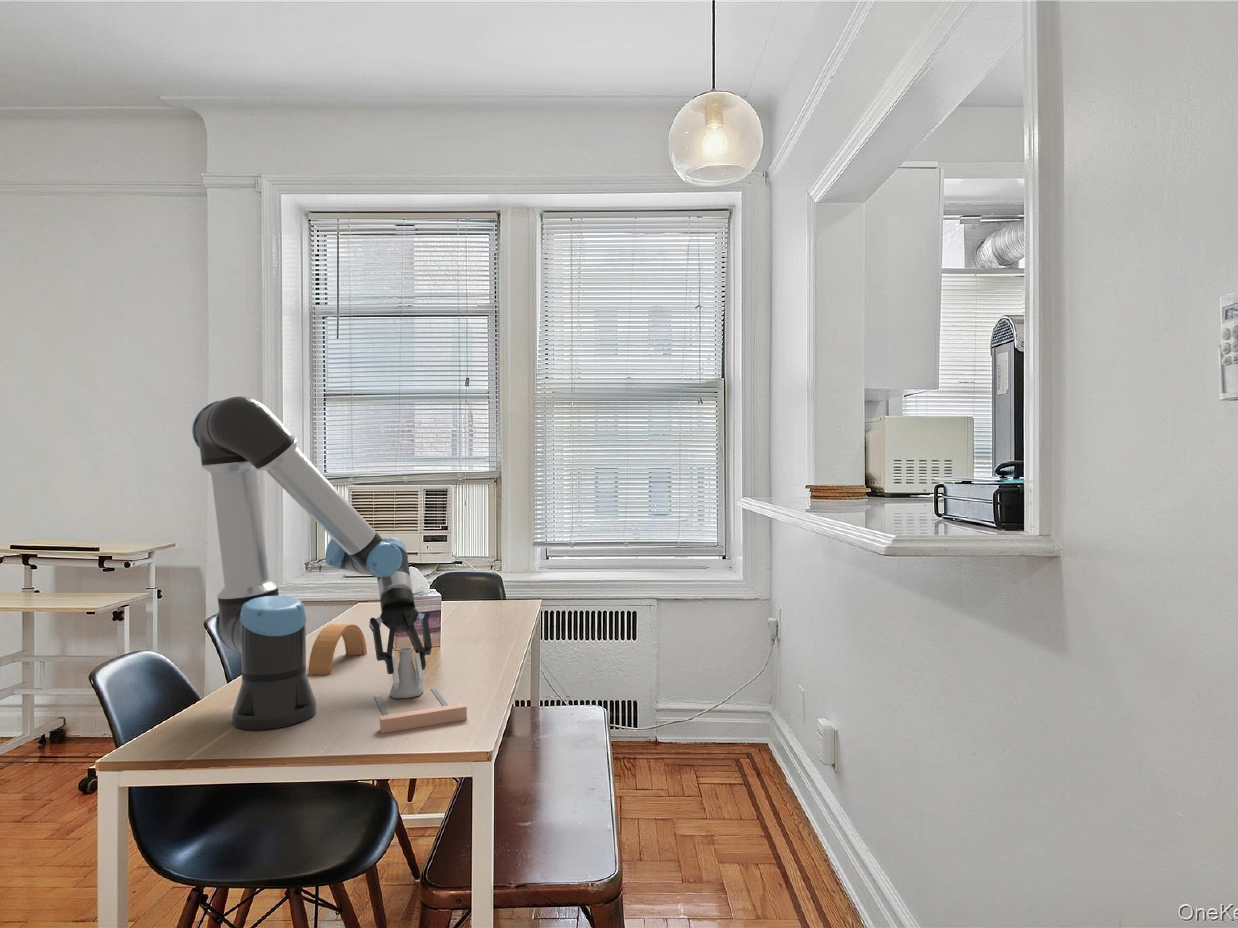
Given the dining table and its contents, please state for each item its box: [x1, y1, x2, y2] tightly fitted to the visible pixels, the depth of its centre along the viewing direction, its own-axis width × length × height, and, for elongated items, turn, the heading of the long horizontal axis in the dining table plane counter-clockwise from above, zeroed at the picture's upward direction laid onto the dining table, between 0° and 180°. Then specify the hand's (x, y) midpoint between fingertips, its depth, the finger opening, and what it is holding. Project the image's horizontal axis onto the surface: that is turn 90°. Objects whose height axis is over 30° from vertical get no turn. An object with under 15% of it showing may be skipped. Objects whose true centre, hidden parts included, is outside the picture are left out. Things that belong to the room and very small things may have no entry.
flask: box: [388, 646, 424, 699], centre depth 160 cm, size 7×7×10 cm
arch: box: [307, 623, 368, 676], centre depth 188 cm, size 6×20×10 cm, turn 174°
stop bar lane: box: [374, 687, 468, 734], centre depth 150 cm, size 16×24×2 cm
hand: (409, 683), depth 156 cm, fingers closed on flask, 4 cm apart
